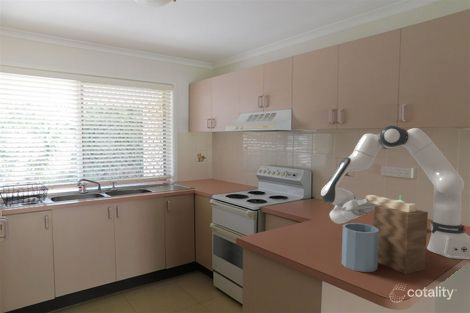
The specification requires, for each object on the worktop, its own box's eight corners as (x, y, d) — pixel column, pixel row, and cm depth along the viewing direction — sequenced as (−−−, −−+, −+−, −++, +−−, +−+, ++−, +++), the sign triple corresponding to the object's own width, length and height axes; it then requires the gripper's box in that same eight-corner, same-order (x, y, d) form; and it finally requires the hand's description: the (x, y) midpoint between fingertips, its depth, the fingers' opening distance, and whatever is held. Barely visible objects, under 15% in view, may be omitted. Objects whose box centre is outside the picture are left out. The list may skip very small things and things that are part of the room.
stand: (372, 259, 137) (374, 206, 135) (391, 255, 142) (393, 204, 140) (405, 274, 122) (408, 214, 121) (424, 269, 127) (427, 212, 126)
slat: (365, 201, 145) (365, 195, 144) (371, 201, 146) (372, 194, 146) (408, 212, 125) (409, 205, 124) (415, 211, 126) (415, 204, 126)
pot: (375, 261, 135) (377, 225, 134) (378, 274, 122) (380, 234, 121) (341, 256, 140) (343, 221, 139) (341, 268, 127) (342, 230, 126)
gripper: (336, 204, 150) (355, 194, 139) (366, 201, 159) (387, 191, 148) (340, 216, 148) (360, 207, 137) (371, 212, 156) (392, 204, 145)
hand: (374, 199), depth 142 cm, fingers open, 8 cm apart
